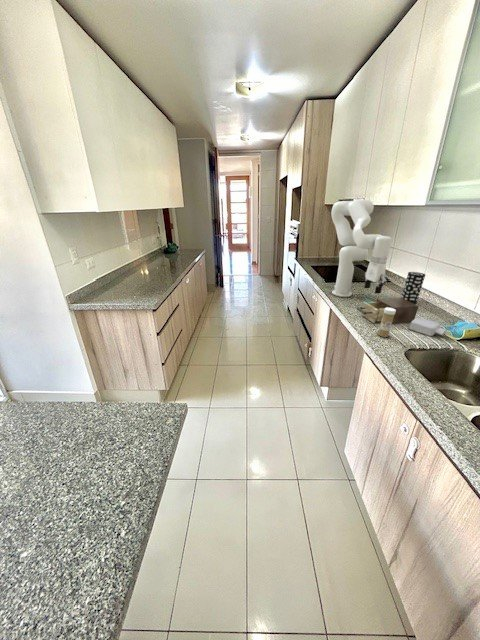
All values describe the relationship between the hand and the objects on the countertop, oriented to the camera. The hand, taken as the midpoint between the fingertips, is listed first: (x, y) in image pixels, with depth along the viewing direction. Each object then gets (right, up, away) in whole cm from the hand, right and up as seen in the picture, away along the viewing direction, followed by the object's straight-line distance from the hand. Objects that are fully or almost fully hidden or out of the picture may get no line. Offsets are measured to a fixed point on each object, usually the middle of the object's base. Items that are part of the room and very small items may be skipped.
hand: (372, 290), depth 146 cm
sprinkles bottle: (-7, -24, -24) cm, 35 cm away
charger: (+17, -23, -21) cm, 36 cm away
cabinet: (+8, -16, -6) cm, 19 cm away
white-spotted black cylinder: (+26, -9, +9) cm, 28 cm away
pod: (0, -10, +5) cm, 11 cm away
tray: (-3, -15, -8) cm, 18 cm away
